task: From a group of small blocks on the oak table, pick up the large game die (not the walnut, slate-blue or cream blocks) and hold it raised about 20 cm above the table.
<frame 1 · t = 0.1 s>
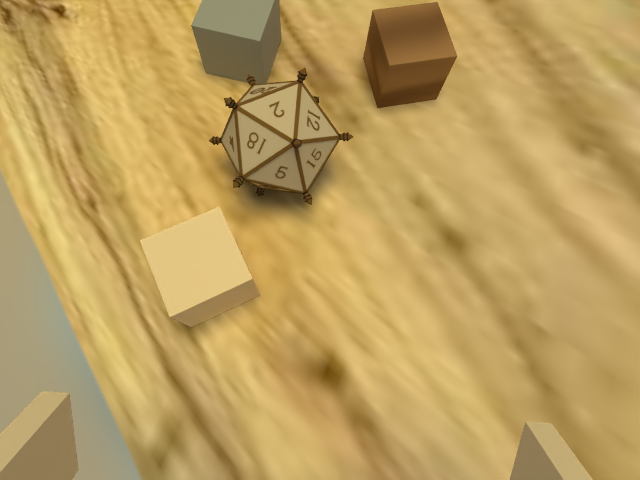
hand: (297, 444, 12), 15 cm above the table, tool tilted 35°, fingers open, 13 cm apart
walnut block: (399, 79, 36), on the table
cream block: (212, 278, 30), on the table
slate-blue block: (244, 56, 36), on the table
game die: (281, 168, 33), on the table
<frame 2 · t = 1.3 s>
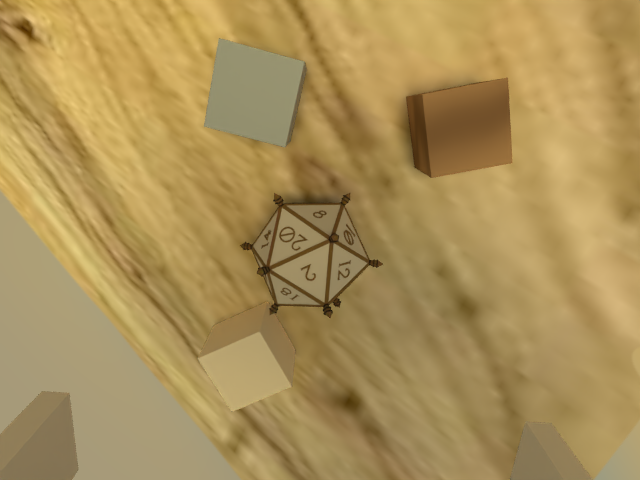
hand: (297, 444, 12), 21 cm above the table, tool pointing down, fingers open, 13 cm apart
walnut block: (445, 126, 30), on the table
cream block: (255, 337, 35), on the table
slate-blue block: (263, 97, 30), on the table
game die: (310, 236, 33), on the table
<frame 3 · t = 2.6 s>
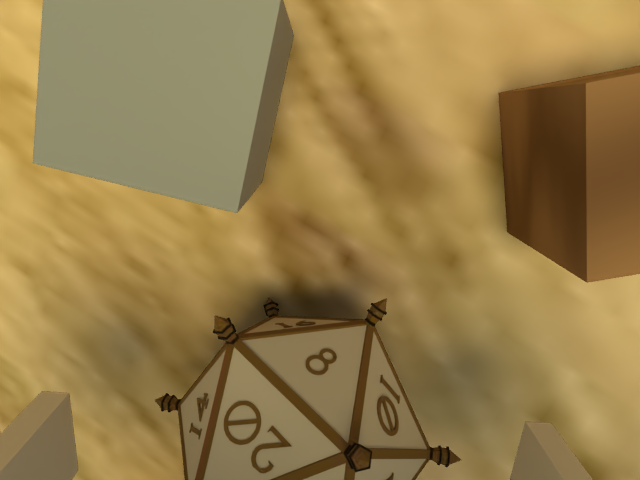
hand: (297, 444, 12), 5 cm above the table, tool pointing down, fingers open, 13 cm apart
walnut block: (572, 152, 15), on the table
slate-blue block: (205, 93, 15), on the table
game die: (303, 356, 18), on the table
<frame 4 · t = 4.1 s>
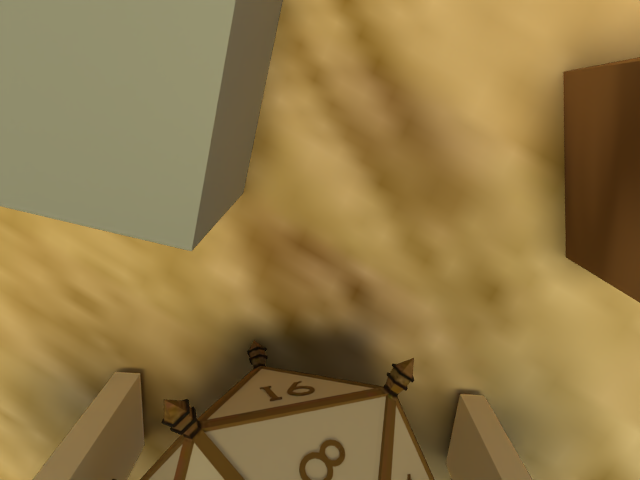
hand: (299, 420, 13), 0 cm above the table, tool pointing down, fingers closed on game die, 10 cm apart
slate-blue block: (165, 72, 11), on the table
game die: (299, 410, 14), on the table, touching gripper
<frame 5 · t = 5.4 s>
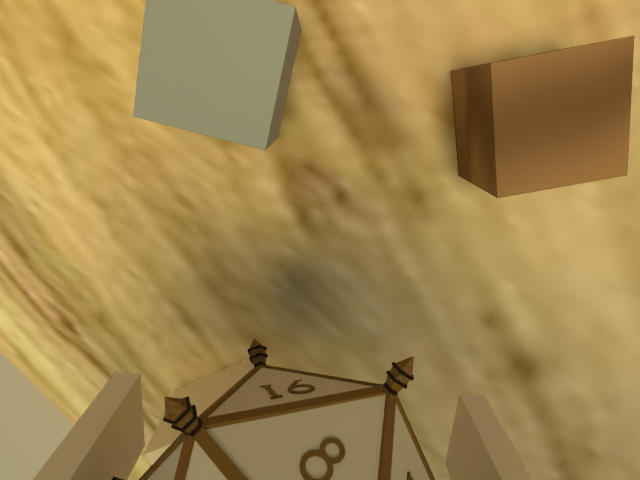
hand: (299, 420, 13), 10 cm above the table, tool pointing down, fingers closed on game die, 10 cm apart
walnut block: (506, 115, 21), on the table
cream block: (232, 404, 26), on the table
slate-blue block: (237, 71, 20), on the table
game die: (299, 409, 14), point 10 cm above the table, touching gripper
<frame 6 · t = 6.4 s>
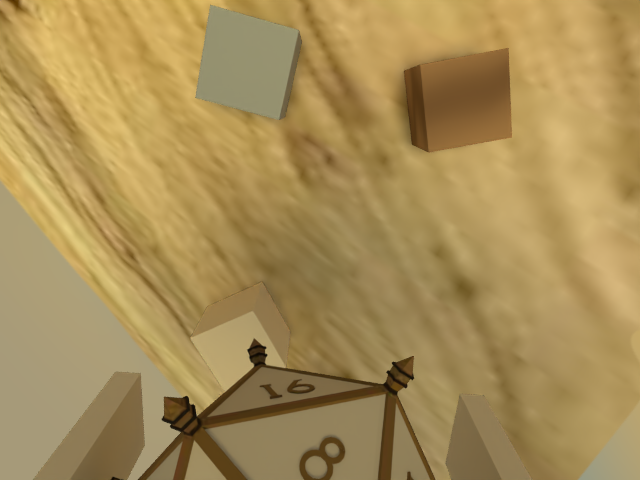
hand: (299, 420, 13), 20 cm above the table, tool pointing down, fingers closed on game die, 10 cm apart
walnut block: (443, 102, 30), on the table
cream block: (249, 318, 35), on the table
slate-blue block: (257, 70, 29), on the table
game die: (299, 409, 14), point 20 cm above the table, touching gripper
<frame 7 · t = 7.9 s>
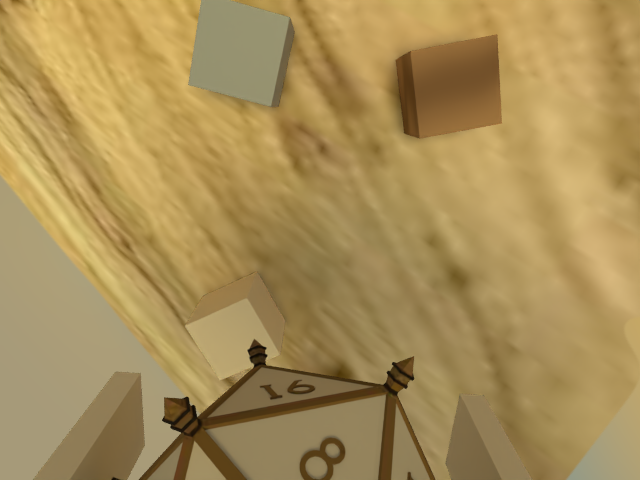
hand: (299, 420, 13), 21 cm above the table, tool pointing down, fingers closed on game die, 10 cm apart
walnut block: (435, 91, 30), on the table
cream block: (244, 308, 35), on the table
slate-blue block: (251, 60, 29), on the table
game die: (299, 409, 14), point 20 cm above the table, touching gripper
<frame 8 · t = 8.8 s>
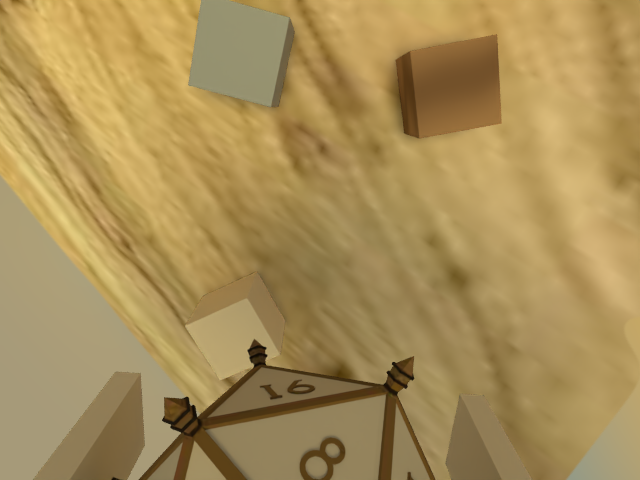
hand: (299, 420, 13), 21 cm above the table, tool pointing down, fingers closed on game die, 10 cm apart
walnut block: (435, 91, 30), on the table
cream block: (244, 308, 35), on the table
slate-blue block: (251, 60, 29), on the table
game die: (299, 409, 14), point 20 cm above the table, touching gripper
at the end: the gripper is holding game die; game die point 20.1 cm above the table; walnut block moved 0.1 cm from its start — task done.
